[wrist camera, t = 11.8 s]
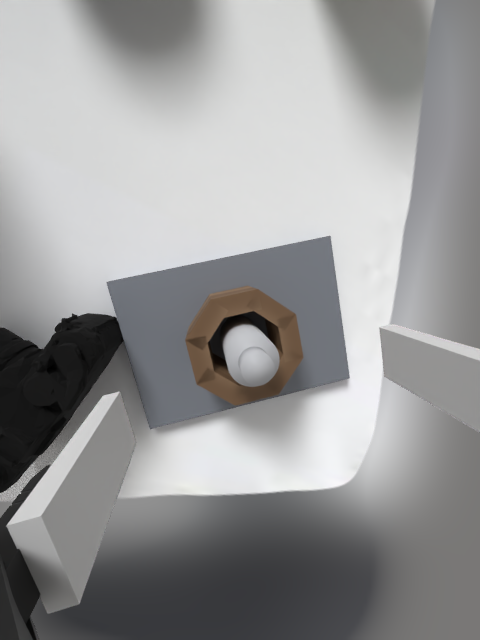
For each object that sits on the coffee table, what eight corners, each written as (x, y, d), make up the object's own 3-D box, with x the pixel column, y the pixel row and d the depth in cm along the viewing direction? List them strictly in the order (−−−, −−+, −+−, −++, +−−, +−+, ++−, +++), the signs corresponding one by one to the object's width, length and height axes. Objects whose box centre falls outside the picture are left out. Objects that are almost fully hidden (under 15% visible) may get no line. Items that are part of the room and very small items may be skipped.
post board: (152, 422, 27) (120, 515, 17) (110, 281, 25) (41, 288, 14) (343, 373, 29) (422, 431, 19) (324, 237, 26) (404, 214, 16)
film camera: (41, 265, 24) (-54, 261, 15) (139, 329, 26) (106, 359, 17) (-52, 404, 25) (-193, 476, 16) (49, 455, 27) (-27, 545, 18)
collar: (204, 387, 26) (204, 413, 21) (182, 300, 24) (176, 307, 20) (289, 365, 27) (308, 386, 22) (273, 279, 25) (290, 281, 20)
